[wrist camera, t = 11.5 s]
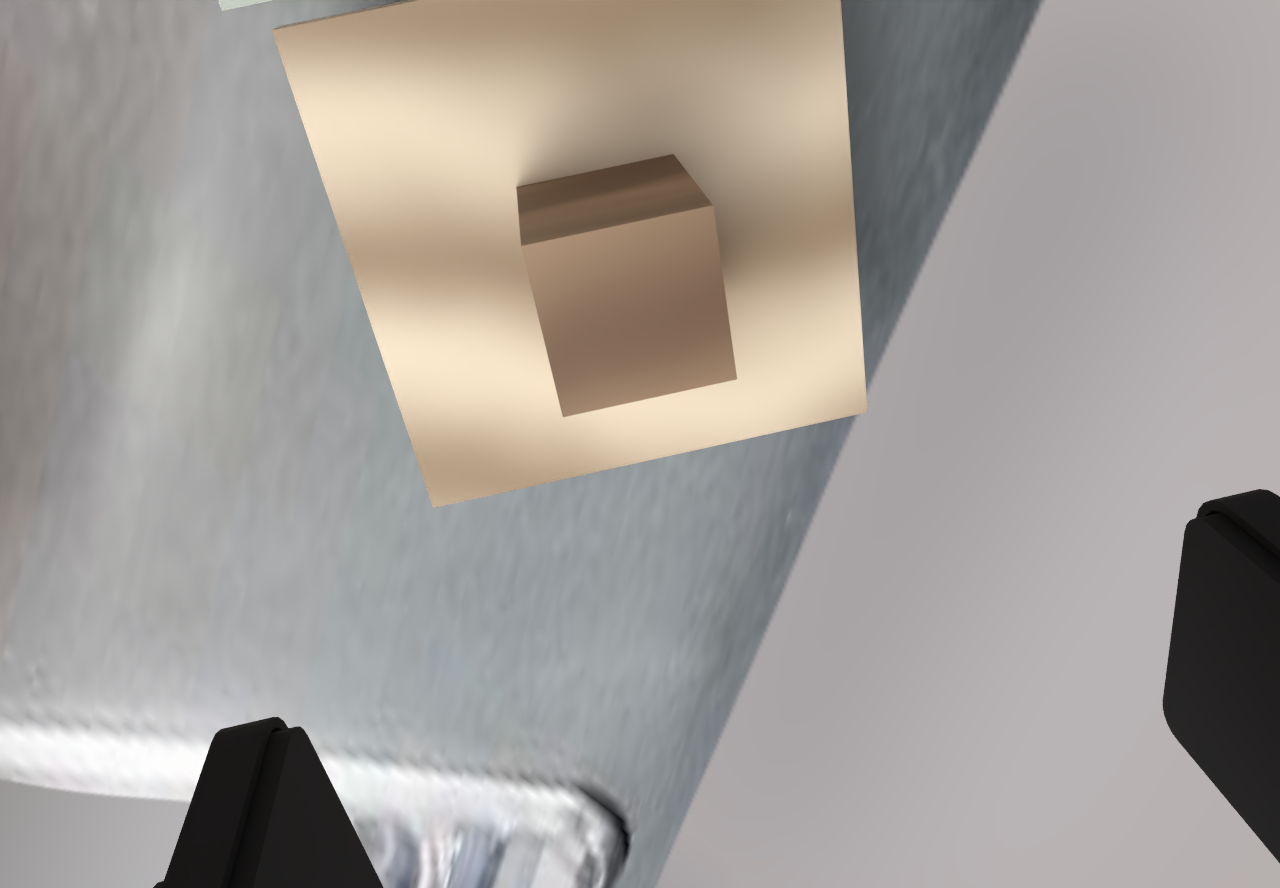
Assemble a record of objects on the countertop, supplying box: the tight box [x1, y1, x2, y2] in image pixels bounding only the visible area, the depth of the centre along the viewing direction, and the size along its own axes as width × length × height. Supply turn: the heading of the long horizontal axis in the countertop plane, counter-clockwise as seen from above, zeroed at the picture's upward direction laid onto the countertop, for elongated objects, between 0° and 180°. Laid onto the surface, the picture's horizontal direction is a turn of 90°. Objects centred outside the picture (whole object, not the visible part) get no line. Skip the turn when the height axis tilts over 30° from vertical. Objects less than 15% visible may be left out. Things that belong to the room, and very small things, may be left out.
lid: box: [272, 0, 867, 508], centre depth 23 cm, size 13×13×6 cm
